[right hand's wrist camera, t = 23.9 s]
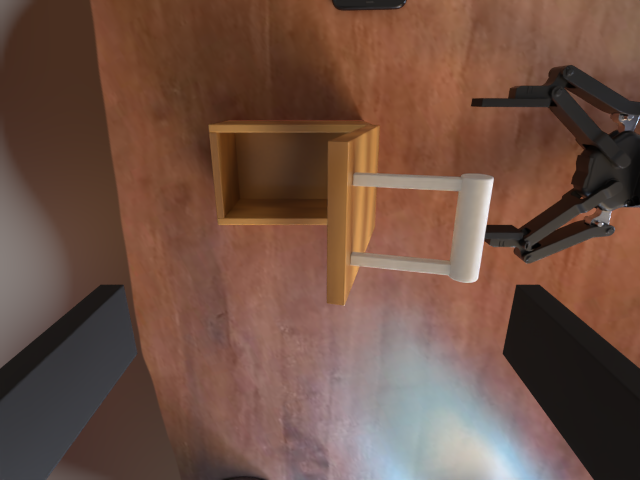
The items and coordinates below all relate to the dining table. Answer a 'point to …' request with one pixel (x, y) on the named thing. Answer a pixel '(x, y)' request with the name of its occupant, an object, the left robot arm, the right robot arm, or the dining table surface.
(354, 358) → the dining table surface
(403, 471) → the dining table surface
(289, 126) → the chest
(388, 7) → the smartphone
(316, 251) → the dining table surface
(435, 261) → the lid
